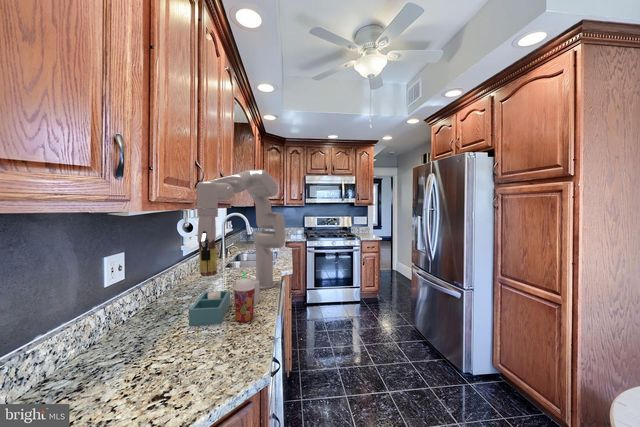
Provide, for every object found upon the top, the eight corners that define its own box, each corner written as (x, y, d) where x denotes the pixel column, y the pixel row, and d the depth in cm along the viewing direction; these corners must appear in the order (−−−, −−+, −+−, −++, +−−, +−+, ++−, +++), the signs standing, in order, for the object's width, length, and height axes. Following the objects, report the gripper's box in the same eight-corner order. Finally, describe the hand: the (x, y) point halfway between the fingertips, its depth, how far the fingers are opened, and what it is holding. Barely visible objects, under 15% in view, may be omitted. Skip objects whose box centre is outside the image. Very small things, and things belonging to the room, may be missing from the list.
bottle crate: (204, 307, 123) (203, 292, 123) (230, 305, 125) (230, 290, 125) (189, 328, 102) (188, 310, 102) (220, 326, 104) (220, 308, 104)
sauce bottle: (217, 272, 112) (217, 224, 111) (216, 276, 106) (215, 225, 105) (200, 273, 110) (200, 224, 110) (197, 277, 104) (197, 225, 104)
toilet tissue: (261, 306, 125) (261, 284, 125) (233, 309, 121) (233, 286, 121) (258, 298, 135) (258, 278, 135) (232, 301, 131) (232, 280, 131)
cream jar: (209, 307, 121) (209, 291, 120) (221, 306, 122) (221, 291, 121) (206, 311, 116) (206, 295, 115) (219, 311, 116) (219, 294, 116)
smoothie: (254, 315, 114) (254, 268, 113) (256, 324, 106) (256, 273, 105) (233, 318, 111) (232, 269, 111) (233, 327, 103) (233, 274, 103)
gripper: (203, 212, 115) (203, 255, 116) (190, 214, 98) (191, 263, 99) (221, 212, 116) (222, 254, 117) (212, 213, 99) (213, 262, 100)
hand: (208, 258), depth 108 cm, fingers closed on sauce bottle, 6 cm apart
